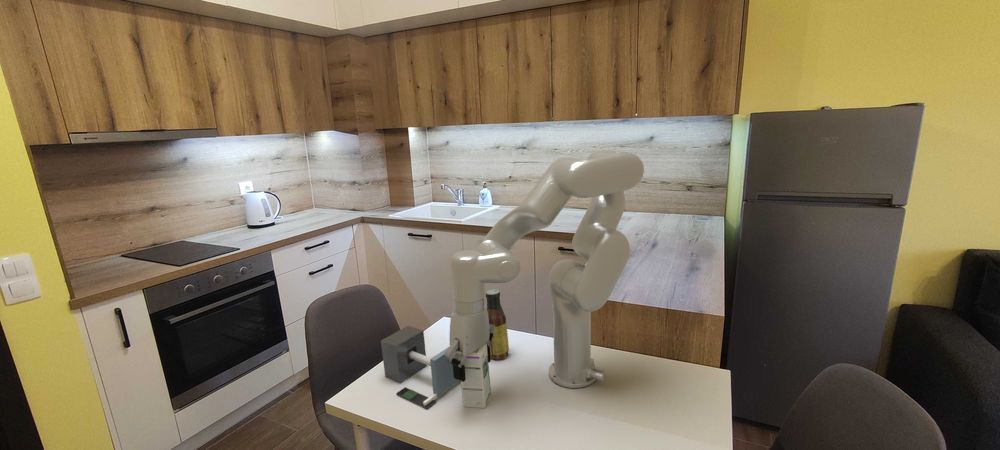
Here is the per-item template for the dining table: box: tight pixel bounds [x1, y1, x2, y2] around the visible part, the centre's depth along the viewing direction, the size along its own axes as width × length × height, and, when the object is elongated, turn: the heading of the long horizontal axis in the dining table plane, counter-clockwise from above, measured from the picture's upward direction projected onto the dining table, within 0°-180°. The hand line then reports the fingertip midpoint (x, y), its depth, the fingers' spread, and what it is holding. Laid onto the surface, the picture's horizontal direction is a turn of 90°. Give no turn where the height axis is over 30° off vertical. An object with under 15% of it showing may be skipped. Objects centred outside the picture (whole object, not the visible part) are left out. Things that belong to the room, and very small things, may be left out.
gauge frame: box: [380, 325, 437, 410], centre depth 117 cm, size 20×14×11 cm
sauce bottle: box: [485, 289, 510, 361], centre depth 127 cm, size 7×6×20 cm
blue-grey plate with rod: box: [407, 345, 461, 405], centre depth 115 cm, size 15×14×10 cm
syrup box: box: [458, 343, 492, 409], centre depth 107 cm, size 6×6×14 cm
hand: (472, 369), depth 107 cm, fingers open, 9 cm apart
